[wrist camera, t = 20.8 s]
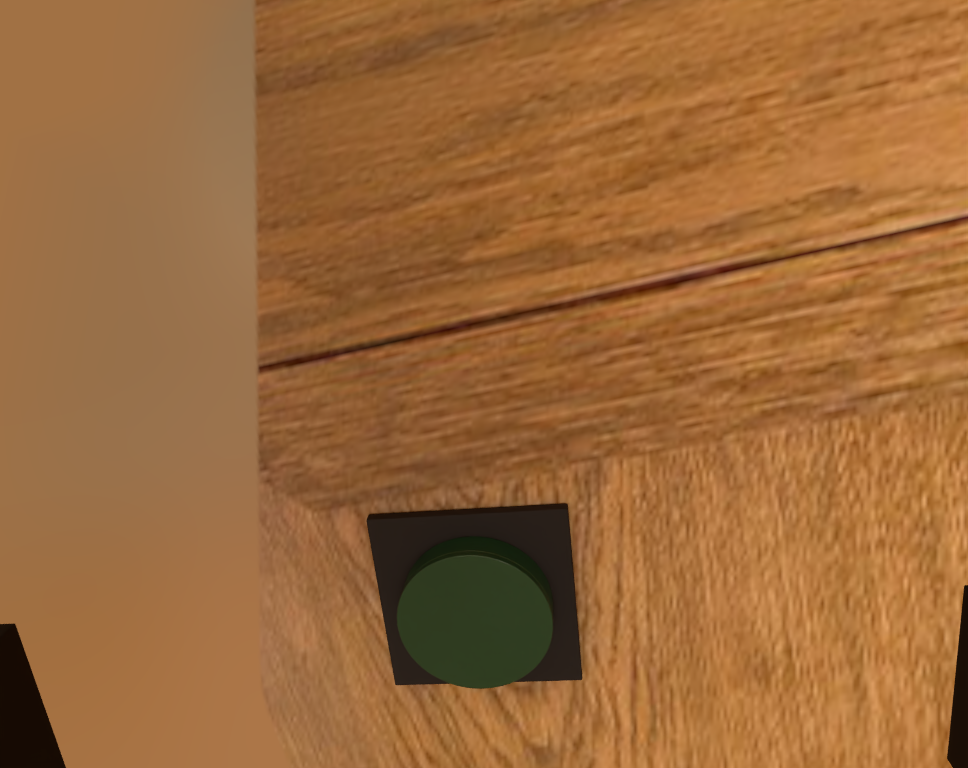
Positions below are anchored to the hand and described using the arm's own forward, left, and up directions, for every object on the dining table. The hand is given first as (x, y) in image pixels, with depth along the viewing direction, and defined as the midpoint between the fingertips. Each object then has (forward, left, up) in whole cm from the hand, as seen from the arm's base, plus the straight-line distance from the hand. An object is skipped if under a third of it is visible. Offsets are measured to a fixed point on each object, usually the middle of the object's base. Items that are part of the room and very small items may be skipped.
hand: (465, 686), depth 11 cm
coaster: (+15, -4, -25) cm, 29 cm away
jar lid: (+15, -4, -23) cm, 27 cm away
